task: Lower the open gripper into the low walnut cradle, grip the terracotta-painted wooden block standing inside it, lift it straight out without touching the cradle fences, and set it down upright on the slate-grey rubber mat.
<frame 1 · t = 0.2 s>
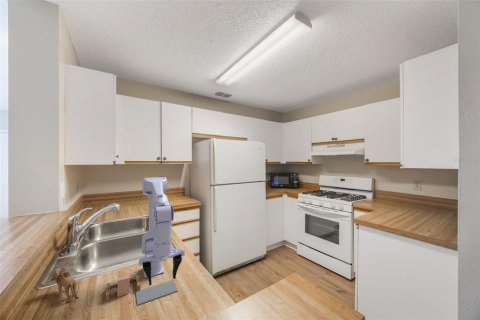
hand: (162, 280, 66), 10 cm above the countertop, fingers open, 7 cm apart
walnut cradle: (123, 291, 74), on the countertop
slate mat: (156, 292, 74), on the countertop
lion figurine: (64, 295, 73), on the countertop
terracotta block: (123, 292, 74), on the countertop
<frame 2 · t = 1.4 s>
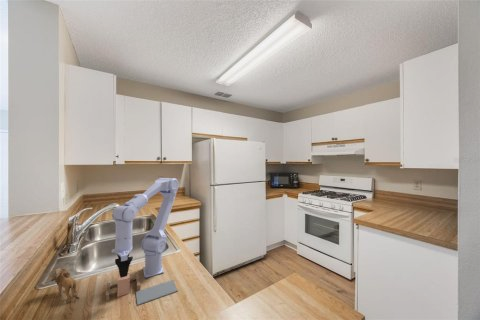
hand: (123, 271, 74), 8 cm above the countertop, fingers open, 7 cm apart
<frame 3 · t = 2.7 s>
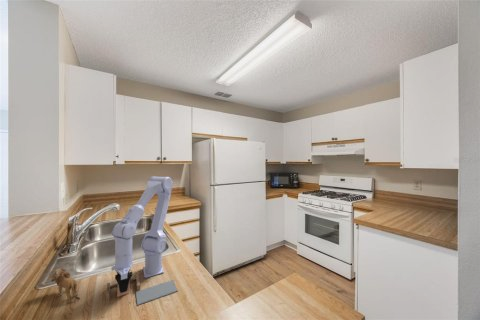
hand: (123, 288, 74), 1 cm above the countertop, fingers closed on terracotta block, 4 cm apart
terracotta block: (123, 291, 74), on the countertop, touching gripper
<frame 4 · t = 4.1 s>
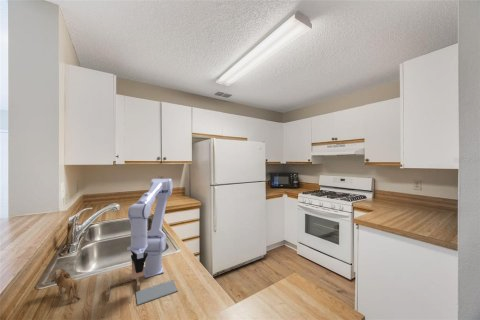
hand: (138, 269, 75), 9 cm above the countertop, fingers closed on terracotta block, 4 cm apart
terracotta block: (137, 274, 74), point 7 cm above the countertop, touching gripper
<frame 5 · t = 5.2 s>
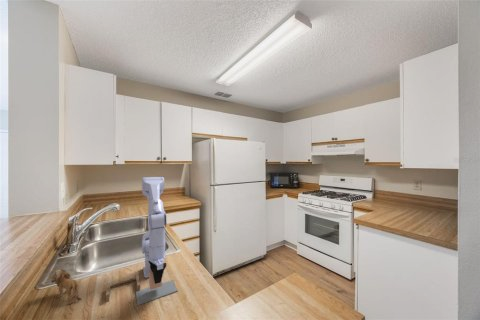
hand: (156, 279, 74), 5 cm above the countertop, fingers closed on terracotta block, 4 cm apart
terracotta block: (155, 285, 74), point 3 cm above the countertop, touching gripper
when the fingers open (3 cm above the countertop, at t = 5.9 s): terracotta block stays where it is, resting on slate mat.
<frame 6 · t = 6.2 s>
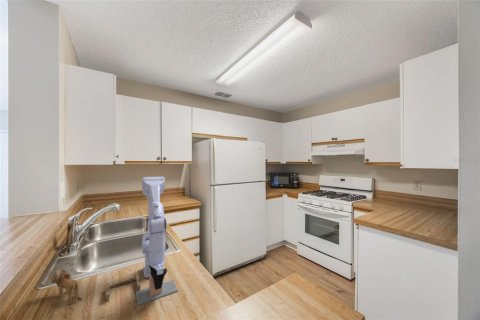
hand: (156, 283, 74), 3 cm above the countertop, fingers open, 6 cm apart
terracotta block: (155, 291, 74), resting on slate mat
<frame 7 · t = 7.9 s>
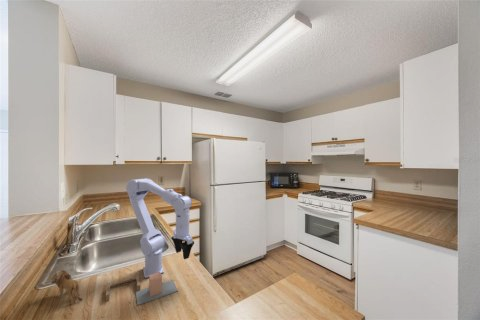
hand: (182, 255, 84), 10 cm above the countertop, fingers open, 7 cm apart
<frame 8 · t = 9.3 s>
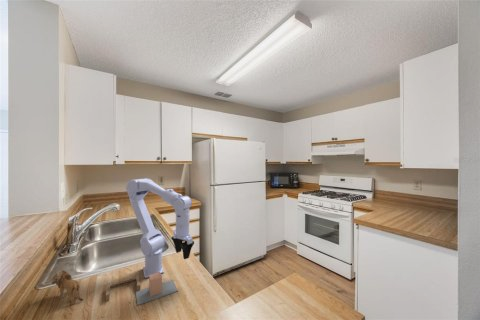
hand: (182, 255, 84), 10 cm above the countertop, fingers open, 7 cm apart
at the end: terracotta block inside the target area on the slate mat (0.5 cm from its centre), point 0.4 cm above the slate mat's base; terracotta block tilted 0°; the gripper is holding nothing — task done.
